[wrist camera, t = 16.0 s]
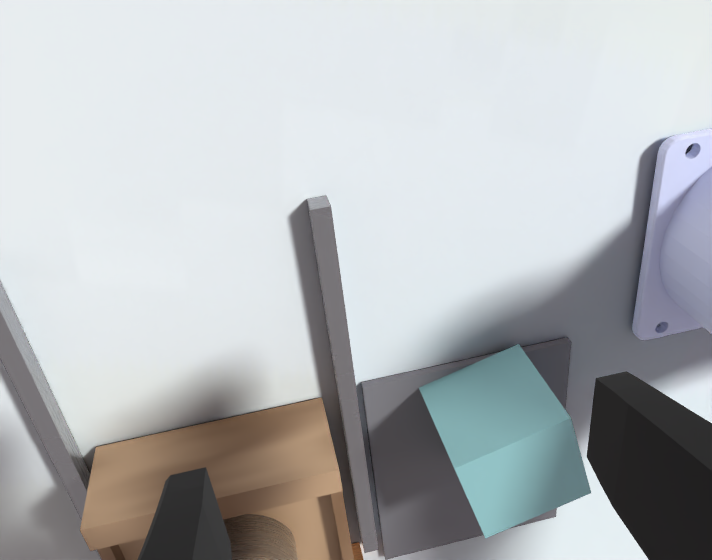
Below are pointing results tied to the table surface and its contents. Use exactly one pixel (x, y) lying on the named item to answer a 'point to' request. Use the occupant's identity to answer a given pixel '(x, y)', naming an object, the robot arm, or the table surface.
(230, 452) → the brown wooden tray
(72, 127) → the table surface
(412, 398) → the mat
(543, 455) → the part
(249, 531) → the part
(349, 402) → the track
